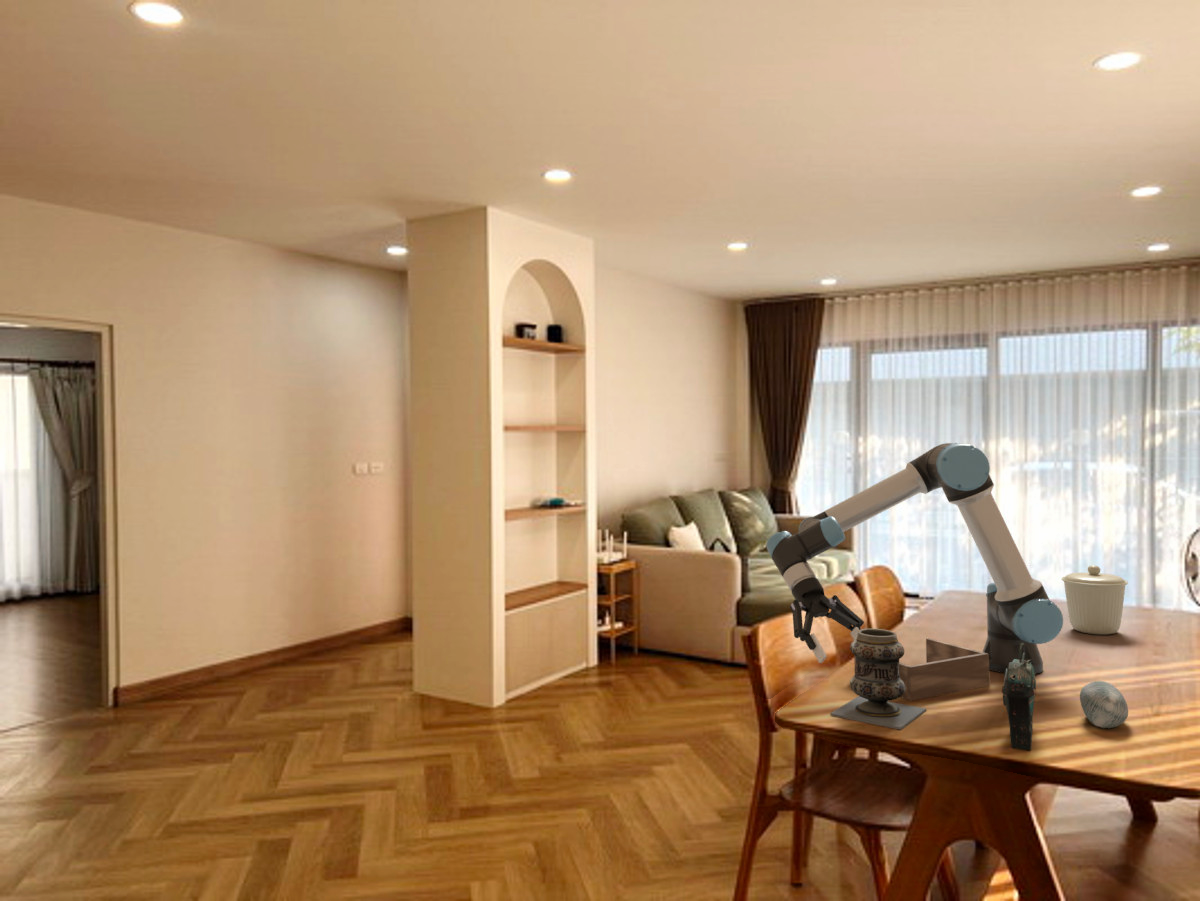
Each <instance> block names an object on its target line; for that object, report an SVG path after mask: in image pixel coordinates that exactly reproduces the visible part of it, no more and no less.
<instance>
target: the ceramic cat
mask: <svg viewBox="0 0 1200 901" xmlns="http://www.w3.org/2000/svg"><path fill="white" fill-rule="evenodd" d="M1023 646H1024V643H1021V644H1020V647H1019V660H1018V659H1014V660H1013V661H1012V662H1010V663H1009V665H1008V669H1007V668H1006V671H1005V673H1004V680H1003V685H1002V690H1001V692H1002V701H1003V706H1005V708H1006V713H1007V718H1008V723H1009V724H1008V725H1009V726H1008V727H1009V737H1010V740H1009V741H1010V745H1011V748H1012V749H1016V750H1022V751H1027V752H1028V751H1029V752H1030V751H1031V749H1032V743H1033V720H1034V719H1033V718H1034V717H1033V716H1034V706H1035V696H1036V695H1037V692H1036V691H1037V680H1036V674H1034V668H1033V666H1032V665H1031V661H1032V659H1031V660H1028V661H1027V660H1025V657H1026V654H1025V653H1023V655H1022V660H1021V651H1022V648H1023Z"/></svg>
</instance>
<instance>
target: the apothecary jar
mask: <svg viewBox="0 0 1200 901" xmlns="http://www.w3.org/2000/svg"><path fill="white" fill-rule="evenodd" d="M860 629H861V630H859V631H858V636H857V639H856V640H854V639H853V641H851V643H850V647H849V648H850V652H851V654H852V655H855V656H856V670H855V669H854V675H853V676H852V677H851V678H850V681H849V687H850V689H851V690H852V692H853V693H854V694H856V695H857V696H860V697H863V698H865V699H868V701H865V702H863V703H860V704H858V705H857V706H856V707H855V709H856V711H858V712H859V713H862V714H865V715H869V716H875V717H891V716H896V715H898V714H900V713H901V710H900V709H899V708H898V707H897V706H895V705H893V704H891V703H889V702H891V701H893V700H894V701H895V700H896V699H899V698H901V697H900V696H902V695H903V694H904V692H905V684H904V682H903V681H902V680H901V679H900V675H899V662H900V660H901V658H903V656H904V655H905V647H904V646H903V645H902V643H901V642H899V640H898V636H897V633H896V632H895V631H893V630H887V629H882V628H860ZM887 701H889V702H887Z"/></svg>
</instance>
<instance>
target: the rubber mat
mask: <svg viewBox="0 0 1200 901" xmlns="http://www.w3.org/2000/svg"><path fill="white" fill-rule="evenodd" d="M865 701H868V699H865V698H863V697H860V696H859V695H857V697H854V698H853V699H851V700H850V701H848V702H846V703H845V704H843V705H841V706H839V707H837V709H834V710H833V711H832V712H830V716H831V715H833V716H832V717H836V716H837V718H841V717H842V718H841V719H845V720H846V719H847V720H852V721H856V722H861V723H866V724H870V725H874V726H875V725H877V726H879V727H885V728H888V729H889V728H890V729H895V730H902V729H904V728H906V727H907V726H908V725H909V724H911V723H912V722H914V721H915V720H916V719H917V718H919V717H920V716H921V715H923V714H924V713H925V712H927V708H925V707H919V706H915V705H909V704H905V703H904V704H903V703H898V702H892V701H887V702H889V703H891V704H893V705H895V706H897V707H898V708H899V709H900V710H901V713H900V714H898V715H896V716H891V717H875V716H869V715H865V714H862V713H859V712H858V711H856V709H855V707H856V706H857V705H858V704H860V703H863V702H865Z"/></svg>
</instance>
